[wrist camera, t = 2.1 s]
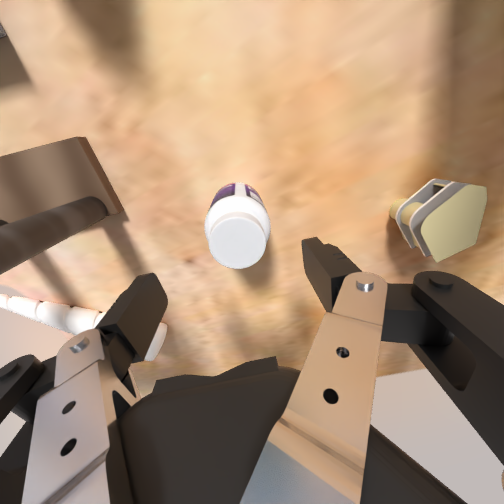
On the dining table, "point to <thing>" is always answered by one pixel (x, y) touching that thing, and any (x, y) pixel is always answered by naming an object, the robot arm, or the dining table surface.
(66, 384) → the robot arm
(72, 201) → the green-topped post stand
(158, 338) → the unicorn horn
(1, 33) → the socket
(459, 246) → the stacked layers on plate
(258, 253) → the pill bottle
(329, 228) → the dining table surface
